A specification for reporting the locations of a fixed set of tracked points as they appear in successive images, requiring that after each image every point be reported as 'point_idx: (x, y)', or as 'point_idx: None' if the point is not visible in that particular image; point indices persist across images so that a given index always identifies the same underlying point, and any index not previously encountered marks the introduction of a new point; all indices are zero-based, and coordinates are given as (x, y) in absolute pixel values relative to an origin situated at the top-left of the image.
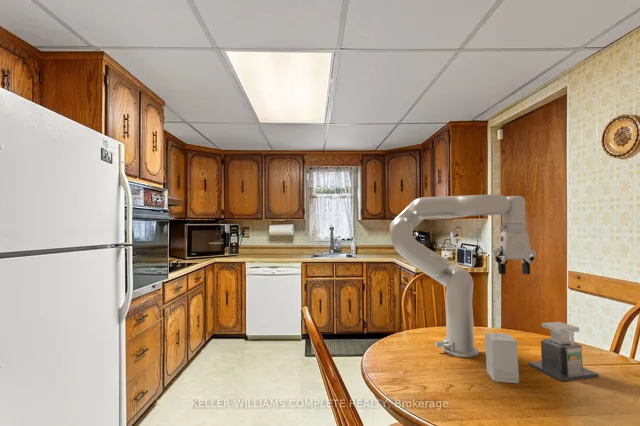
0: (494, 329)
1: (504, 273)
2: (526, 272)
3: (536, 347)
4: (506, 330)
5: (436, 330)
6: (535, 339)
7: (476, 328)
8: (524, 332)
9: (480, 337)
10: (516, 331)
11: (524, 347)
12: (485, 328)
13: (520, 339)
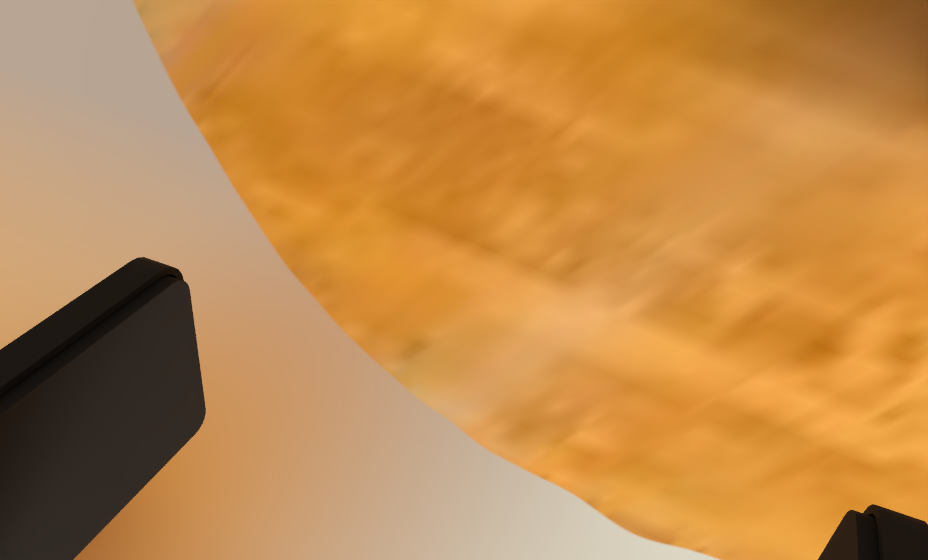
0: (438, 382)
1: (922, 535)
2: (162, 339)
3: (442, 41)
4: (381, 340)
5: None
6: (331, 158)
7: (532, 442)
8: (304, 272)
9: (654, 331)
10: (337, 303)
11: (524, 72)
12: (478, 417)
13: (423, 196)
